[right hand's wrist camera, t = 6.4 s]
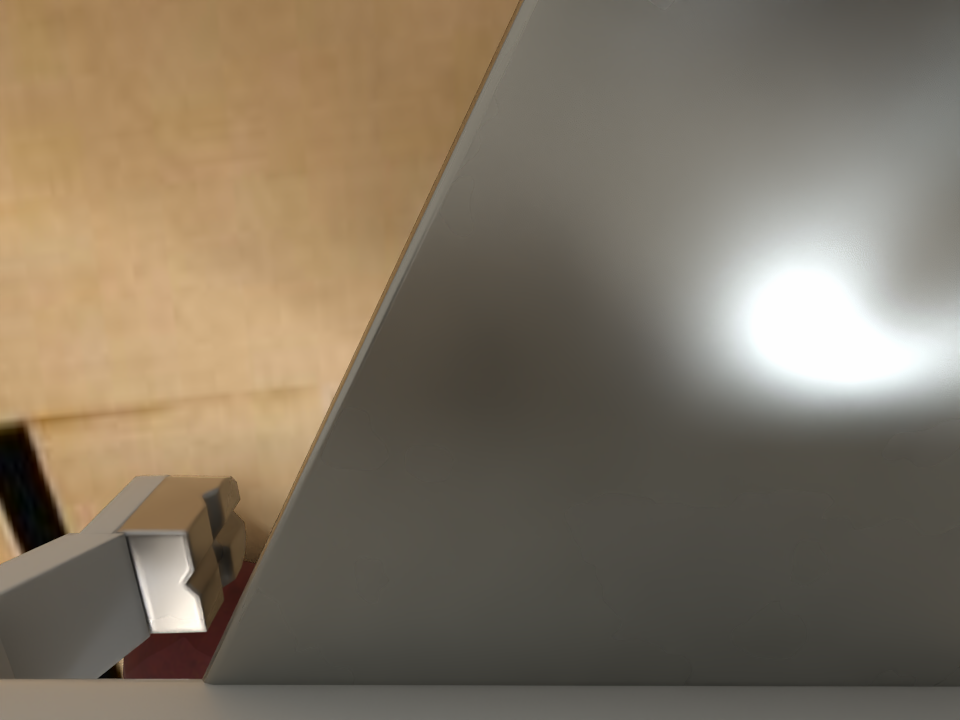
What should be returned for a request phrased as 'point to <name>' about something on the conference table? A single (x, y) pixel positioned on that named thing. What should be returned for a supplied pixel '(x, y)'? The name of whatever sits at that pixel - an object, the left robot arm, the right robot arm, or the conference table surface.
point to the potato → (185, 642)
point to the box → (652, 373)
